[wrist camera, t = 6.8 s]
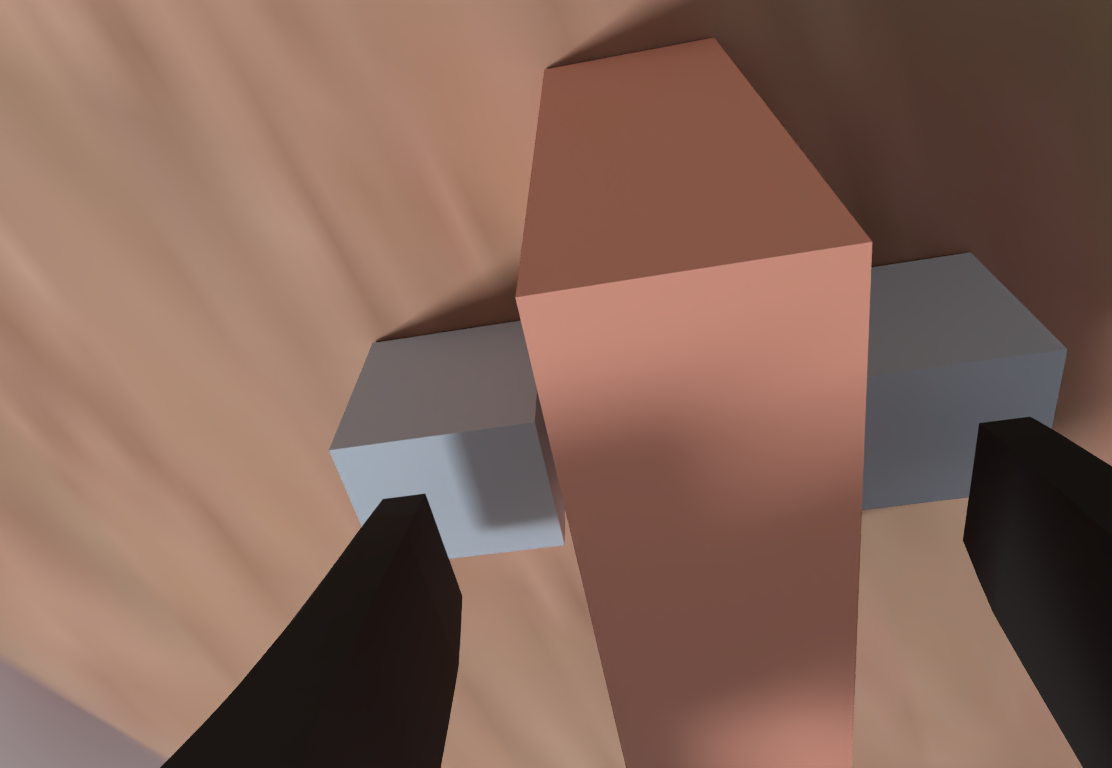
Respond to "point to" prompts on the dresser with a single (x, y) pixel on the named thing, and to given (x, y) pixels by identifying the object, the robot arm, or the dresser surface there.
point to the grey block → (524, 449)
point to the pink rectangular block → (702, 405)
